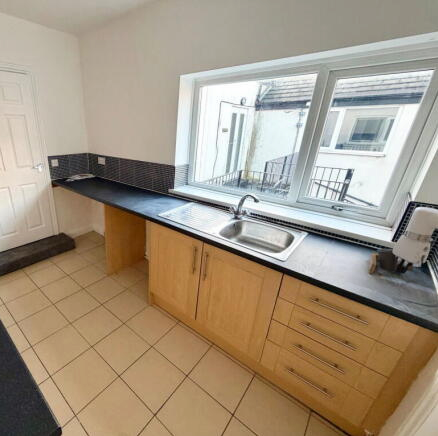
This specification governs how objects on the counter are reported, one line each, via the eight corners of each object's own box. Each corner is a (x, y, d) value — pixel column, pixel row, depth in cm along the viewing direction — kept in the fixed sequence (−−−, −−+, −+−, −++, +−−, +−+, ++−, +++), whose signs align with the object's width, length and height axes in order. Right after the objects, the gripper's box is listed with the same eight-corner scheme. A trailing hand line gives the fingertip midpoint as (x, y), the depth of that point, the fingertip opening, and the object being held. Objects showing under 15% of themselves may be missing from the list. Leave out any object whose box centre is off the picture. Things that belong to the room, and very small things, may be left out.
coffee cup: (402, 269, 114) (402, 249, 114) (397, 273, 110) (397, 252, 109) (379, 266, 121) (379, 246, 121) (373, 269, 117) (374, 249, 116)
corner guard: (410, 271, 116) (414, 262, 114) (415, 285, 106) (419, 276, 104) (368, 260, 125) (371, 252, 124) (368, 272, 115) (372, 263, 113)
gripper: (446, 243, 97) (426, 281, 104) (405, 228, 111) (390, 263, 118) (429, 244, 96) (411, 282, 103) (390, 229, 110) (376, 264, 117)
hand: (400, 272), depth 110 cm, fingers closed
